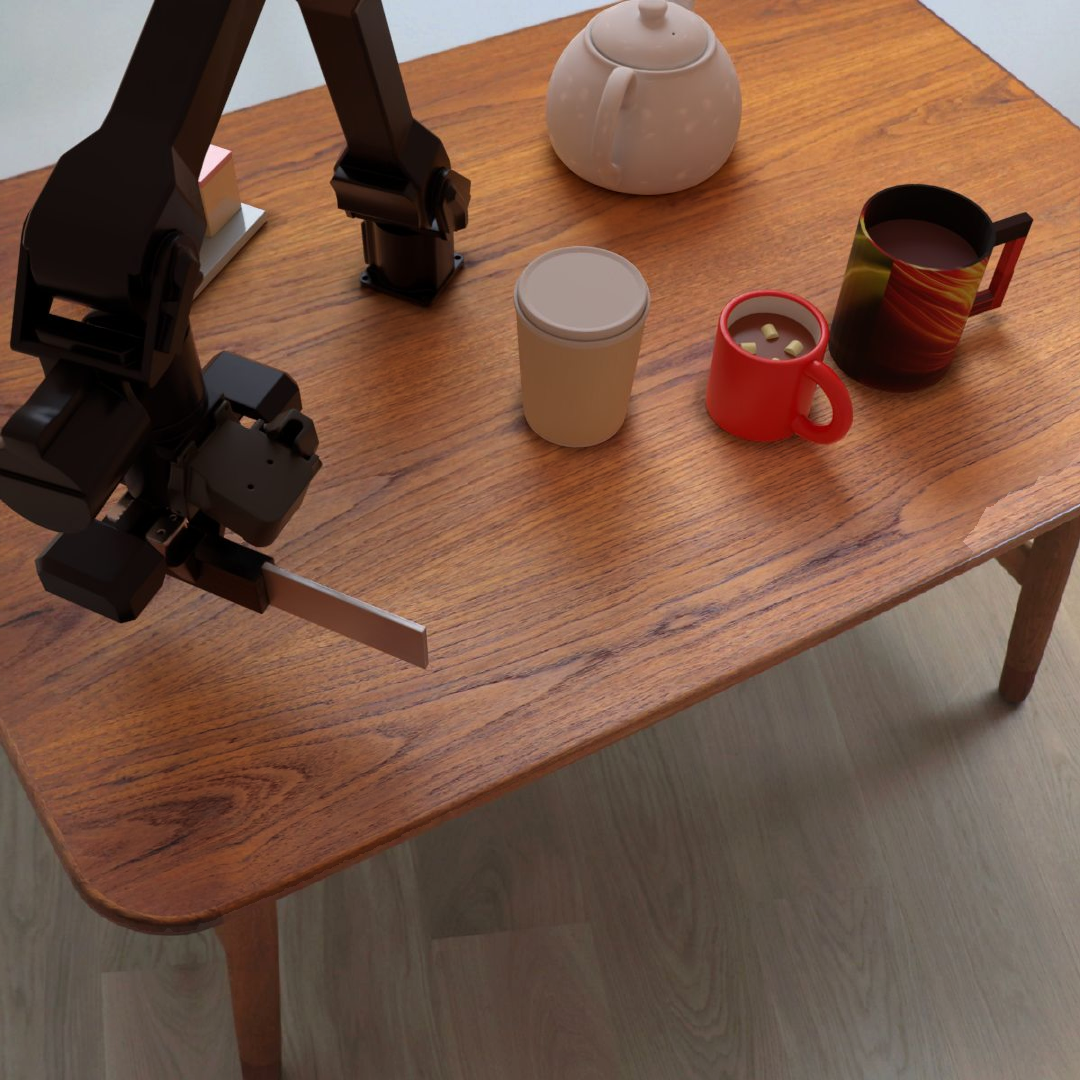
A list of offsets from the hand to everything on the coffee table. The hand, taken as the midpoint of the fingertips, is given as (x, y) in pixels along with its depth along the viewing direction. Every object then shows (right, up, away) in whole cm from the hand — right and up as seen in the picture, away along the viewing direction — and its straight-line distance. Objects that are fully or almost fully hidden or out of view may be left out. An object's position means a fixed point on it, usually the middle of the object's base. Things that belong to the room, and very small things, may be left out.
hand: (201, 564), depth 86 cm
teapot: (+30, +37, +36) cm, 60 cm away
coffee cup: (+24, +11, +16) cm, 31 cm away
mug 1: (+39, +11, +16) cm, 44 cm away
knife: (+5, -3, -1) cm, 6 cm away
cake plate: (-9, +26, +26) cm, 38 cm away
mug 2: (+50, +18, +22) cm, 57 cm away
